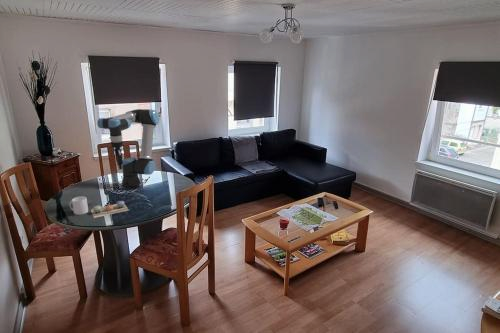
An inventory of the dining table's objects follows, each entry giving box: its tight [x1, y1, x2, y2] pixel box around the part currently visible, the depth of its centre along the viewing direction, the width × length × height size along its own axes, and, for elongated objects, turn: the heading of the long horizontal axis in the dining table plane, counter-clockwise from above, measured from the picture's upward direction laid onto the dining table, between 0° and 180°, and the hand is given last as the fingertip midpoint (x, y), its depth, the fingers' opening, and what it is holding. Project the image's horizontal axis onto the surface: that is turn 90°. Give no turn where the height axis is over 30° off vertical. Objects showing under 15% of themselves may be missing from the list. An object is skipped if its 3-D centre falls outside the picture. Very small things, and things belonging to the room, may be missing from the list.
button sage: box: [92, 204, 102, 214], centre depth 209 cm, size 5×5×4 cm
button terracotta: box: [106, 204, 114, 211], centre depth 213 cm, size 5×5×4 cm
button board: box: [90, 203, 130, 219], centre depth 213 cm, size 15×22×1 cm
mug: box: [69, 195, 89, 216], centre depth 208 cm, size 9×12×11 cm
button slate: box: [116, 200, 126, 209], centre depth 217 cm, size 5×5×4 cm
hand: (120, 172), depth 222 cm, fingers closed
